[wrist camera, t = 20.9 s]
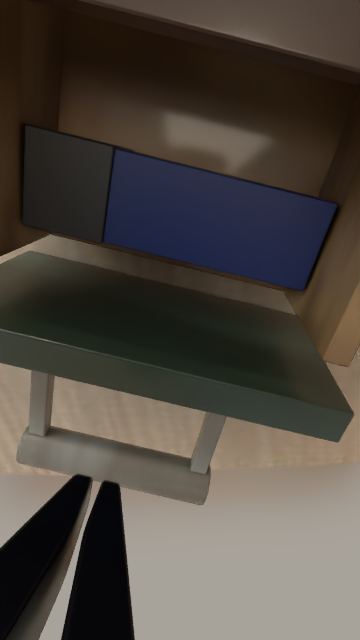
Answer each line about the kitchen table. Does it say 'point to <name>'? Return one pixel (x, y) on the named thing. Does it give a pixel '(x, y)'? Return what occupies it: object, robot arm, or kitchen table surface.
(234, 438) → the kitchen table surface
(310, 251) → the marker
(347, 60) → the cabinet
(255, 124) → the drawer
